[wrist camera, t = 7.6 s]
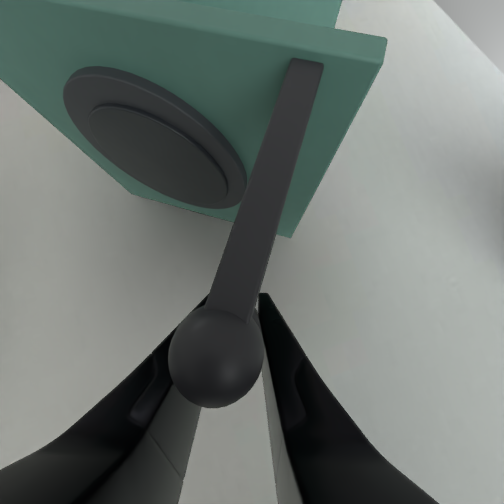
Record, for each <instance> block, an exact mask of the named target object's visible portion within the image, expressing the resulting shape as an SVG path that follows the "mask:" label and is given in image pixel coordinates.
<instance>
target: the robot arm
mask: <svg viewBox="0 0 504 504" xmlns="http://www.w3.org/2000/svg"><path fill="white" fill-rule="evenodd" d="M208 296H209V294H208V295H207V296H206V297H205V298H204V299H203V300H202V301H201V302H200V303H199V304H198V305H197V306H196V307H195V308H194V309H193V310H192V311H191V312H193V311H194V310H196V309H198V308H200V307H202V306H204V305H205V304H206V301H207V299H208ZM191 312H190V313H191ZM190 313H189V314H190ZM258 317H259V321H260V326H261V331H262V337H263V343H264V360H263V365H262V368H261V369H262V377H263V385H264V394H265V402H266V410H267V418H268V427H269V435H270V443H271V451H272V460H273V468H274V476H275V483H276V493H277V501H278V504H439V503H438V502H437V501H435V500H434V499H433V498H432V497H430V496H429V495H428V494H427V493H426V492H424V491H423V490H422V489H421V488H420V487H418V486H417V485H416V484H415V483H413V482H412V481H411V480H410V479H409V478H407V477H406V476H405V475H404V474H403V473H401V472H400V471H399V470H398V469H396V468H395V467H394V466H393V465H392V464H391V463H389V462H388V461H387V460H386V459H385V458H384V457H383V456H382V455H381V454H380V453H379V452H378V451H377V450H376V449H375V447H374V446H373V445H372V444H371V443H370V442H369V440H368V439H367V438H366V437H365V435H364V434H363V433H362V432H361V430H360V429H359V428H358V426H357V425H356V424H355V422H354V421H353V420H352V419H351V417H350V416H349V415H348V413H347V412H346V411H345V410H344V408H343V407H342V406H341V404H340V403H339V402H338V400H337V399H336V398H335V397H334V395H333V394H332V393H331V391H330V390H329V389H328V387H327V386H326V384H325V383H324V382H323V380H322V379H321V378H320V376H319V374H318V373H317V371H316V370H315V368H314V367H313V365H312V364H311V362H310V360H309V359H308V357H307V356H306V354H305V353H304V351H303V349H302V348H301V346H300V344H299V343H298V341H297V340H296V338H295V336H294V335H293V333H292V332H291V330H290V328H289V327H288V325H287V323H286V322H285V320H284V319H283V317H282V315H281V314H280V312H279V310H278V309H277V307H276V306H275V304H274V302H273V301H272V299H271V298H270V296H269V294H268V293H259V294H258ZM179 325H180V324H179ZM179 325H178V326H179ZM178 326H177V327H176V328H175V329H174V330H173V331H172V332H171V333H170V334H169V335H168V336H167V337H166V338H165V339H164V340H163V341H162V342H161V343H160V344H159V345H158V346H157V347H156V348H155V350H154V351H153V352H152V354H150V355H149V356H148V357H147V358H146V359H145V360H144V361H143V362H142V363H141V364H140V365H139V366H138V367H137V368H136V369H135V370H134V371H133V372H132V373H131V374H130V375H129V376H127V377H126V378H125V379H124V380H123V381H122V382H121V383H120V384H119V385H118V386H117V387H115V388H114V389H113V390H112V391H111V392H110V393H109V394H108V395H106V396H105V397H104V398H103V399H102V400H101V401H100V402H99V403H97V404H96V405H95V406H94V407H93V408H92V409H91V410H89V411H88V412H87V413H86V414H85V415H84V416H83V417H82V418H80V419H79V420H78V421H77V422H76V423H75V424H74V425H72V426H71V427H70V428H69V429H68V430H67V431H65V432H64V433H63V434H62V435H60V436H59V437H58V438H56V439H55V440H53V441H52V442H50V443H49V444H48V445H46V446H44V447H43V448H41V449H39V450H38V451H36V452H34V453H32V454H30V455H28V456H26V457H24V458H23V459H21V460H19V461H17V462H15V463H13V464H11V465H9V466H7V467H5V468H3V469H1V470H0V504H178V502H179V497H180V493H181V489H182V485H183V480H184V477H185V473H186V468H187V464H188V460H189V456H190V452H191V448H192V444H193V440H194V436H195V432H196V427H197V423H198V419H199V415H200V411H201V406H198V405H196V404H194V403H192V402H190V401H188V400H187V399H186V398H185V397H184V396H182V395H181V393H180V392H179V391H178V389H177V388H176V386H175V384H174V382H173V380H172V378H171V375H170V371H169V364H168V355H169V347H170V344H171V340H172V338H173V336H174V334H175V332H176V329H177V328H178Z"/></svg>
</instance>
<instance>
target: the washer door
mask: <svg viewBox="0 0 504 504" xmlns="http://www.w3.org/2000/svg"><path fill="white" fill-rule="evenodd" d="M386 46H387V39H386V38H385V37H380V36H374V35H368V34H363V33H357V32H351V31H346V30H340V29H334V28H329V27H323V26H317V25H312V24H306V23H300V22H295V21H289V20H283V19H278V18H272V17H266V16H261V15H255V14H249V13H244V12H238V11H232V10H227V9H221V8H215V7H210V6H204V5H198V4H193V3H187V2H181V1H176V0H0V79H1V80H2V81H3V82H4V83H6V84H7V85H8V86H9V87H10V88H11V89H12V90H14V91H15V92H16V93H17V94H18V95H19V96H20V97H22V98H23V99H24V100H25V101H26V102H27V103H28V104H30V105H31V106H32V107H33V108H34V109H35V110H36V111H37V112H39V113H40V114H41V115H42V116H43V117H44V118H45V119H47V120H48V121H49V122H50V123H51V124H52V125H53V126H55V127H56V128H57V129H58V130H59V131H60V132H61V133H63V134H64V135H65V136H66V137H67V138H68V139H69V140H71V141H72V142H73V143H74V144H75V145H76V146H77V147H79V148H80V149H81V150H82V151H83V152H84V153H85V154H87V155H88V156H89V157H90V158H91V159H92V160H93V161H94V162H96V163H97V164H98V165H99V166H100V167H101V168H102V169H104V170H105V171H106V172H107V173H108V174H109V175H110V176H112V177H113V178H114V179H115V180H116V181H117V182H118V183H120V184H121V185H122V186H123V187H124V188H125V189H126V190H128V191H129V192H130V193H131V194H134V195H137V196H141V197H144V198H148V199H152V200H155V201H159V202H162V203H166V204H170V205H173V206H177V207H180V208H184V209H188V210H191V211H195V212H198V213H202V214H206V215H209V216H213V217H216V218H220V219H224V220H227V221H231V222H234V224H233V227H232V230H231V232H230V235H229V238H228V241H227V244H226V247H225V250H224V253H223V255H222V258H221V261H220V264H219V267H218V270H217V273H216V276H215V278H214V281H213V284H212V287H211V290H210V293H209V296H208V299H207V301H206V304H205V305H204V306H202V307H200V308H198V309H196V310H194V311H193V312H191V313H190V314H189V315H188V316H187V317H186V318H185V319H184V320H183V321H182V322H181V323H180V325H179V326H178V328H177V329H176V332H175V334H174V336H173V338H172V340H171V344H170V347H169V355H168V364H169V371H170V375H171V378H172V380H173V382H174V384H175V386H176V388H177V389H178V391H179V392H180V393H181V395H182V396H184V397H185V398H186V399H187V400H188V401H190V402H192V403H194V404H196V405H198V406H201V407H205V408H220V407H225V406H228V405H230V404H232V403H234V402H236V401H238V400H239V399H240V398H242V397H243V396H244V395H246V394H247V393H248V391H249V390H250V389H251V388H252V387H253V385H254V384H255V382H256V380H257V379H258V377H259V374H260V371H261V368H262V365H263V360H264V343H263V337H262V331H261V326H260V321H259V317H258V312H257V310H256V308H255V305H256V302H257V298H258V294H259V292H260V288H261V285H262V281H263V278H264V274H265V271H266V267H267V264H268V261H269V257H270V254H271V250H272V247H273V243H274V240H275V236H276V234H278V235H281V236H285V237H288V238H291V237H292V235H293V233H294V231H295V229H296V227H297V225H298V223H299V221H300V220H301V218H302V216H303V214H304V212H305V210H306V208H307V206H308V204H309V203H310V201H311V199H312V197H313V195H314V193H315V191H316V189H317V187H318V185H319V184H320V182H321V180H322V178H323V176H324V174H325V172H326V170H327V168H328V167H329V165H330V163H331V161H332V159H333V157H334V155H335V153H336V151H337V150H338V148H339V146H340V144H341V142H342V140H343V138H344V136H345V134H346V132H347V131H348V129H349V127H350V125H351V123H352V121H353V119H354V117H355V115H356V114H357V112H358V110H359V108H360V106H361V104H362V102H363V100H364V98H365V96H366V95H367V93H368V91H369V89H370V87H371V85H372V83H373V81H374V79H375V78H376V76H377V74H378V72H379V70H380V68H381V66H382V64H383V61H384V56H385V51H386Z"/></svg>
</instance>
